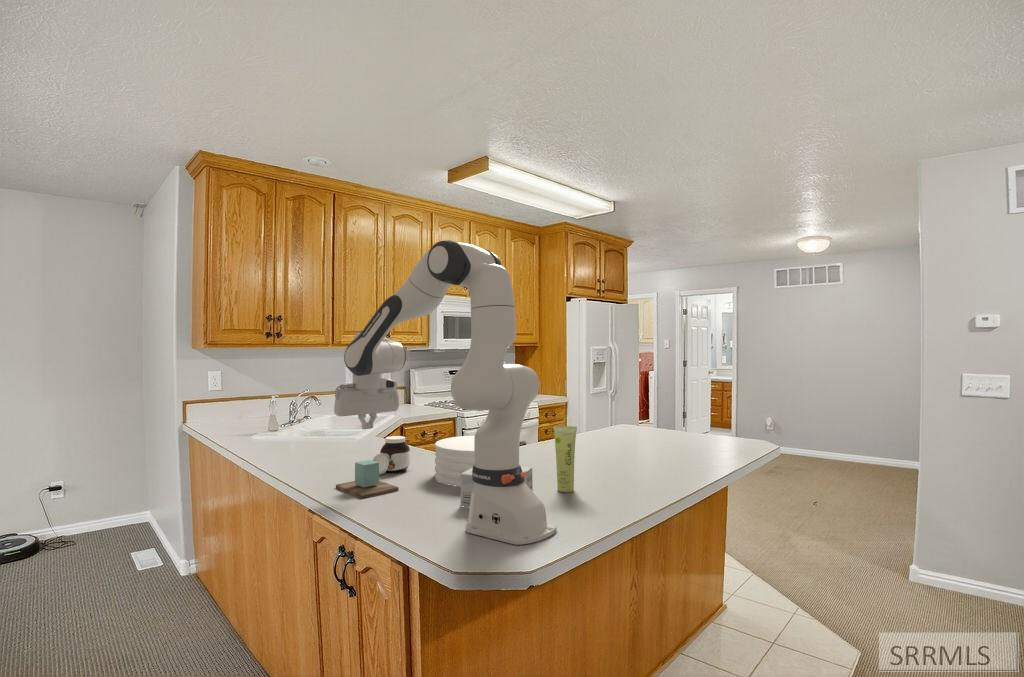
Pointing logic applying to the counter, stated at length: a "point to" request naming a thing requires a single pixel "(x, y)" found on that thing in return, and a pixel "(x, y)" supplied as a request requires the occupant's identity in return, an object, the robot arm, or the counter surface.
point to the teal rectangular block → (366, 473)
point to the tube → (565, 456)
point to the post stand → (366, 489)
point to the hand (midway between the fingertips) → (367, 428)
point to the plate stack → (453, 458)
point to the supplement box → (469, 483)
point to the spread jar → (393, 455)
